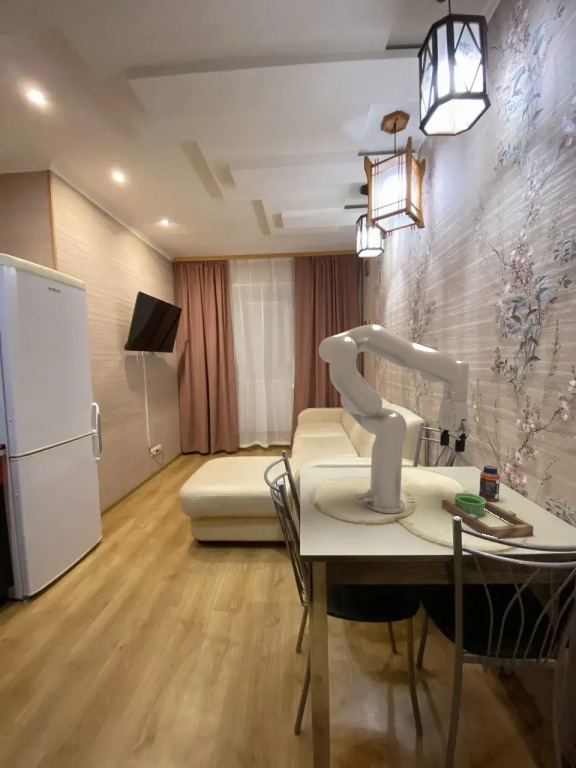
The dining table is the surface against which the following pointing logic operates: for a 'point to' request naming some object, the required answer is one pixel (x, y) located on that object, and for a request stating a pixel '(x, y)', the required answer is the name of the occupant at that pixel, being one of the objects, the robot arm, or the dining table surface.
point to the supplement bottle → (489, 483)
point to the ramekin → (470, 503)
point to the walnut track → (500, 532)
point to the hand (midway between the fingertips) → (451, 448)
